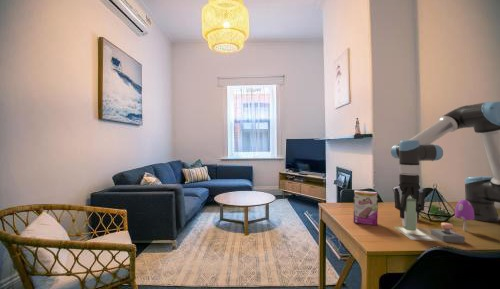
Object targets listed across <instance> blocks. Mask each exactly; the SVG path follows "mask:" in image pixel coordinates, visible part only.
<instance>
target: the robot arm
mask: <svg viewBox="0 0 500 289" xmlns="http://www.w3.org/2000/svg"><path fill="white" fill-rule="evenodd" d="M466 128H469V129H470V128H473V130H474V133H475V134H479V136H480V139H481V141H482V145H483V147H484V151H485V154H486V157H487V160H488V164H489V167H490V169H491V172H492V175H493V176H468V177H466V178H465V182H464V191H465V192H464V194H465V196H464V198H465V199H464V200H467V201H469V202H470V204H471V205H472V207H473V210H474V220H475V221H482V222H487V223H488V222H490V223H495V222H500V215H499V214H498V210H497V209H496V206H495V203H498V204H500V100H498V101H496V100H495V101H486V102H480V103H475V104H469V105H463V106H462V105H461V106H460V107H457V108H454V109H453V110H451V111H449V112H447V113H445V114H444V115H442V116H441V117H439V118H438V120H437V121H436V122H434V123H433V124H432V125H430V126H429V127H427V128H426V129H424V130H423V131H420V132H419V133H418V134H415V135H414V136H413V137H412V138H410V139H405V140H400V141H399V143H398V144H394V145H393V146H392V147H391V148H390V155H391V157H393V158H394V159H397V160H398V159H399V160H398V161H399V164H398V165H399V169H398V171H399V173H400V174H399V176H398V178H399V184H398V186H396V187H392V191H393V195H394V197H393V198H394V207H395V209H396V210H398V211H399V218H401V225H402V226H403V225H404V226H407V212H406V211H405V207H406V199H407V197H408V196H411V198H413V199H416V228H418V220H419V219H420V213H421V212H423V211H425V200H426V194H427V192H428V190H427V189H426V188H423V187H421V185H420V175H419V174H420V161H422V162H425V161H426V162H434V161H439V160H441V159H442V158H443V156H444V150H443V148H442V147H441V146H440V145H439V144H433V143H434V142H436V141H437V140H439V139H441V138H442V137H444V136H446V135H447V134H449V133H453V132H456V131H457V130H460V129H466ZM400 191H401V195H400ZM400 196H401V197H400Z"/></svg>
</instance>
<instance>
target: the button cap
mask: <svg viewBox="0 0 500 289" xmlns="http://www.w3.org/2000/svg"><path fill="white" fill-rule="evenodd" d="M440 228H442V229H444V233H445V234H450V230H454V224H453V223H450V222H440Z"/></svg>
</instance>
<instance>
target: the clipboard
mask: <svg viewBox="0 0 500 289" xmlns="http://www.w3.org/2000/svg"><path fill="white" fill-rule="evenodd" d="M392 228H393V229H394V230H396V231H398V232H399V233H400V234H402V235H403V236H404V237H406V238H407V239H408V240H410V241H422V242H424V241H425V242H441V243H442V242H443V241H441V240H440V239H438V238H436V237H434V236H433V235H431V229H432V228H427V227H416V231H412V230H406V229H405V228H403V226H392ZM443 243H444V242H443ZM456 243H458V242H455V244H456ZM458 244H459V243H458Z"/></svg>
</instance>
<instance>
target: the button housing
mask: <svg viewBox="0 0 500 289" xmlns="http://www.w3.org/2000/svg"><path fill="white" fill-rule="evenodd" d="M430 229H431V235H433V236H434V237H436V238H438V239H440V240H441V241H443V243H456V242H458V244H460V243H461V244H463V243H464V244H465V242H466V239H465V238H466V237H465V236H464V235H462V234H460V233H458V232H455V231H454V230H453V229H450V234H445V233H444V228H442V229H440V228H430Z"/></svg>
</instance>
